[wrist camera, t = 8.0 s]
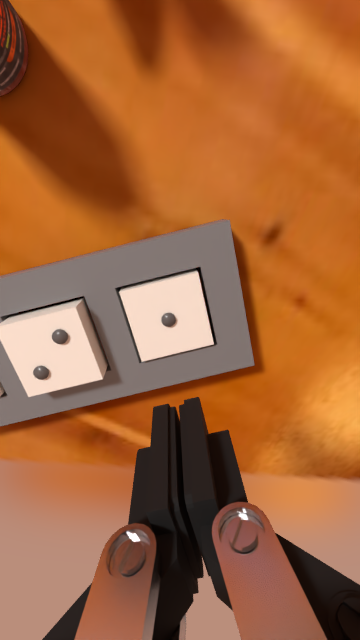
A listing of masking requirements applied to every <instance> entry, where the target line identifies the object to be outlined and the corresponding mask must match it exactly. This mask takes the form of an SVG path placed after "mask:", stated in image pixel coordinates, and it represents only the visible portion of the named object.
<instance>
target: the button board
mask: <svg viewBox="0 0 360 640" xmlns="http://www.w3.org/2000/svg"><path fill="white" fill-rule="evenodd" d="M197 267H198V269H199V273H200V278H201V282H202V287H203V291H204V296H205V300H206V305H207V310H208V314H209V319H210V323H211V328H212V332H213V333H212V338H213V342H214V344H213V345H209V346H205V347H201V348H197V349H193V350H188V351H184V352H180V353H176V354H172V355H168V356H164V357H160V358H155V359H151V360H147V361H143V362H142V361H141V358H140V355H139V352H138V349H137V345H136V342H135V339H134V336H133V333H132V330H131V327H130V324H129V321H128V318H127V314H126V311H125V308H124V305H123V302H122V299H121V296H120V293H119V292H120V290H121V286H125V285H129V284H133V283H137V282H141V281H145V280H149V279H153V278H157V277H161V276H165V275H169V274H173V273H177V272H181V271H185V270H189V269H193V268H197ZM81 296H84V297H85V300H86V302H87V305H88V308H89V311H90V313H91V316H92V319H93V321H94V324H95V327H96V330H97V332H98V335H99V338H100V341H101V343H102V346H103V349H104V351H105V354H106V357H107V362H108V366H107V369H106V372H105V375H104V378H103V379H101V380H97V381H93V382H89V383H85V384H81V385H77V386H73V387H68V388H64V389H60V390H56V391H52V392H48V393H44V394H40V395H35V396H31V397H28V395H27V393H26V391H25V389H24V387H23V385H22V383H21V381H20V379H19V377H18V375H17V373H16V371H15V369H14V367H13V365H12V363H11V361H10V359H9V357H8V355H7V353H6V351H5V349H4V347H3V345H2V343H1V341H0V382H1V384H2V386H3V388H4V390H5V392H4V393H3V394H2V395H1V396H0V426H4V425H8V424H12V423H16V422H20V421H25V420H29V419H33V418H37V417H41V416H45V415H50V414H54V413H58V412H62V411H66V410H70V409H75V408H79V407H83V406H87V405H91V404H95V403H100V402H104V401H108V400H112V399H116V398H120V397H125V396H129V395H133V394H137V393H141V392H145V391H150V390H154V389H158V388H162V387H166V386H170V385H175V384H179V383H183V382H187V381H191V380H195V379H200V378H204V377H208V376H212V375H216V374H220V373H225V372H229V371H233V370H237V369H241V368H245V367H250V366H254V365H255V364H254V359H253V353H252V347H251V341H250V336H249V330H248V324H247V318H246V312H245V307H244V301H243V295H242V289H241V284H240V278H239V272H238V266H237V260H236V255H235V249H234V243H233V237H232V231H231V226H230V220H224V219H222V220H218V221H214V222H210V223H206V224H203V225H199V226H195V227H191V228H187V229H183V230H179V231H175V232H171V233H167V234H163V235H159V236H156V237H152V238H148V239H144V240H140V241H136V242H132V243H128V244H124V245H120V246H116V247H112V248H108V249H105V250H101V251H97V252H93V253H89V254H85V255H81V256H77V257H73V258H69V259H65V260H61V261H58V262H54V263H50V264H46V265H42V266H38V267H34V268H30V269H26V270H22V271H18V272H14V273H10V274H7V275H3V276H0V323H1V322H3V321H4V320H6V319H7V318H9V317H10V316H14V315H18V312H21V311H25V310H29V309H33V308H37V307H41V306H45V305H49V304H53V303H57V302H61V301H65V300H69V299H73V298H77V297H81Z"/></svg>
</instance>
